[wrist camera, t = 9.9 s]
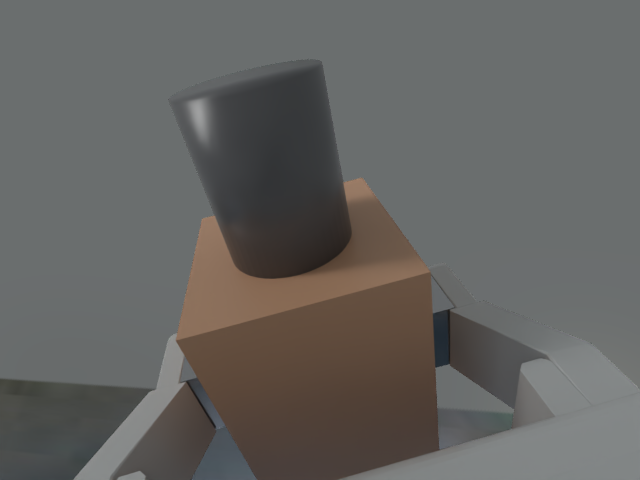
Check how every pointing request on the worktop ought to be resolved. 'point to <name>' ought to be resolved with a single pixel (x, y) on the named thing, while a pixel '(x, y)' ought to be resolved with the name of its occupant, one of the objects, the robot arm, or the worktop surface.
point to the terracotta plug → (301, 287)
